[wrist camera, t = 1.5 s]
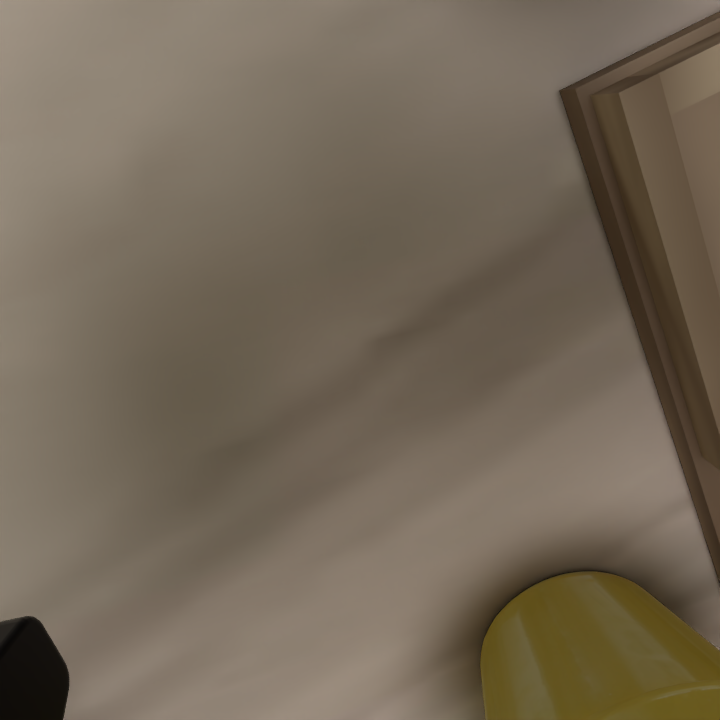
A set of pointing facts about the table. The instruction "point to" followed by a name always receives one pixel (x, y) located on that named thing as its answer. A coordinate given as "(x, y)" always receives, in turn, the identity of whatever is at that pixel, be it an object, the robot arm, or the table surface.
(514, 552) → the table surface
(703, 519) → the wooden tray
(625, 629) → the plant pot
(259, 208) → the table surface
